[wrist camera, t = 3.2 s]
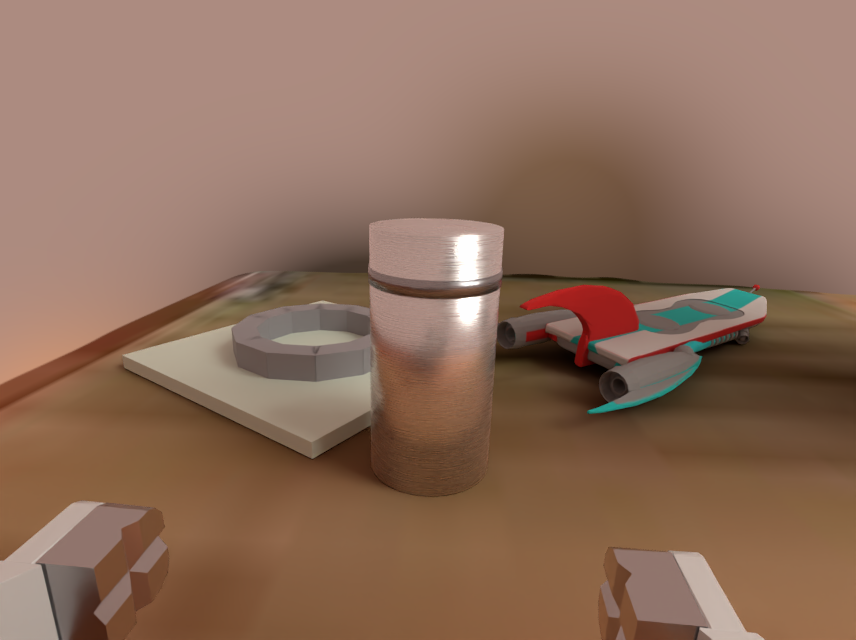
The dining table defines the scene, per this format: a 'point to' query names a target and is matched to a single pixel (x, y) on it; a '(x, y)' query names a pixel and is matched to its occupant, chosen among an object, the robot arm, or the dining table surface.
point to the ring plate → (257, 395)
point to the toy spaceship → (636, 335)
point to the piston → (432, 351)
